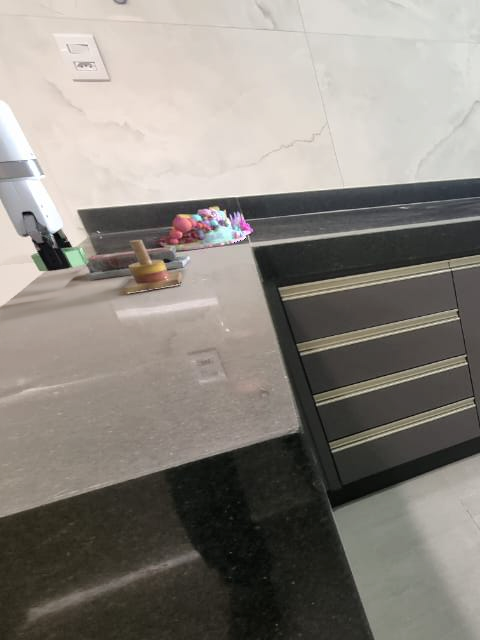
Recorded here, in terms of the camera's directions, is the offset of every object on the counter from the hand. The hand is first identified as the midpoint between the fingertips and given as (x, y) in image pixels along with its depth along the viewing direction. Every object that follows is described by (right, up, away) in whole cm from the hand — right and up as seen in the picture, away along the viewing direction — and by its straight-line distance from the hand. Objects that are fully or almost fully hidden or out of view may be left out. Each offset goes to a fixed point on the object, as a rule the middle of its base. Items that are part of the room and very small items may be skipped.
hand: (63, 264), depth 106 cm
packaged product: (-7, +3, +24) cm, 26 cm away
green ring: (0, 0, 0) cm, 0 cm away
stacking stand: (+9, -3, +11) cm, 14 cm away
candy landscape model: (-15, +17, +55) cm, 59 cm away
